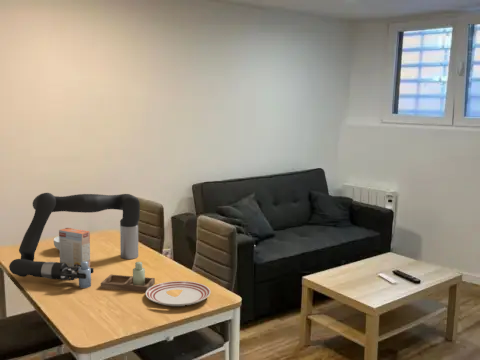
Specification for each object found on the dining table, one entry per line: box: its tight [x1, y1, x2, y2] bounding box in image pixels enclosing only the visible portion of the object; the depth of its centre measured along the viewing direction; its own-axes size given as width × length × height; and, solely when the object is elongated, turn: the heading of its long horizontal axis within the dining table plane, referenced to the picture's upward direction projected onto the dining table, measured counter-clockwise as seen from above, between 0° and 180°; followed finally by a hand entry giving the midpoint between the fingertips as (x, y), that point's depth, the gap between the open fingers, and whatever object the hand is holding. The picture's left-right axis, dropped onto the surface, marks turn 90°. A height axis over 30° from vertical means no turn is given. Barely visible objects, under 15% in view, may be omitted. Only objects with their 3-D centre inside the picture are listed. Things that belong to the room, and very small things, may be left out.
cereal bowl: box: [53, 235, 60, 251], centre depth 276 cm, size 17×17×7 cm
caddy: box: [100, 274, 156, 293], centre depth 226 cm, size 11×21×3 cm, turn 81°
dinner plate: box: [145, 280, 212, 307], centre depth 216 cm, size 27×27×3 cm
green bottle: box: [132, 261, 146, 286], centre depth 225 cm, size 5×5×11 cm
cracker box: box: [58, 227, 91, 272], centre depth 241 cm, size 14×6×21 cm, turn 65°
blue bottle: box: [78, 261, 92, 289], centre depth 225 cm, size 5×5×11 cm
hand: (89, 273), depth 225 cm, fingers open, 6 cm apart
